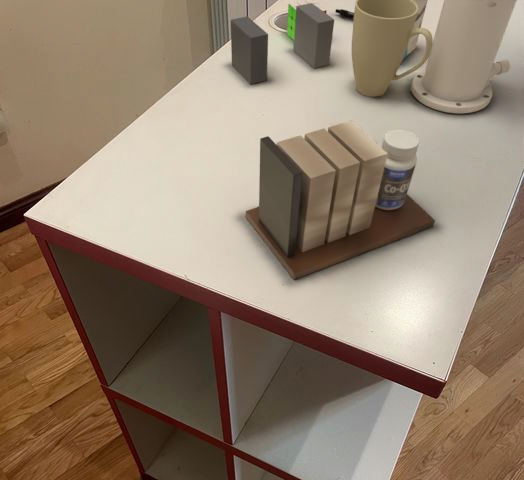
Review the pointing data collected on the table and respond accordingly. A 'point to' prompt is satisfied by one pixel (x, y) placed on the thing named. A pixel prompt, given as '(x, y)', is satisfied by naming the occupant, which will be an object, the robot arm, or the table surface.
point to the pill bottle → (397, 168)
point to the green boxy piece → (293, 15)
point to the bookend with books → (327, 199)
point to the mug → (383, 42)
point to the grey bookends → (305, 42)
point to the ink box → (416, 25)
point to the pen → (345, 13)
